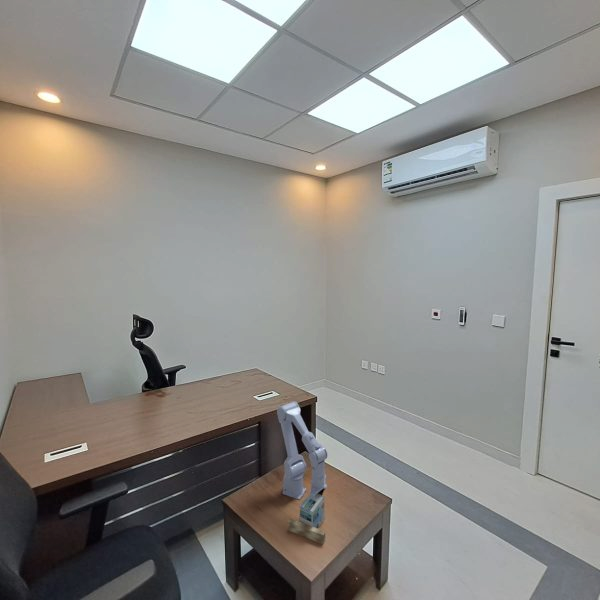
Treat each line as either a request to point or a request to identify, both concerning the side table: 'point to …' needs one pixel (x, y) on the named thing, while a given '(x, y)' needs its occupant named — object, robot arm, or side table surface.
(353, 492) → the side table surface
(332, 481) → the side table surface
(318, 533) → the metal block
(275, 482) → the side table surface
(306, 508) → the light bulb box
